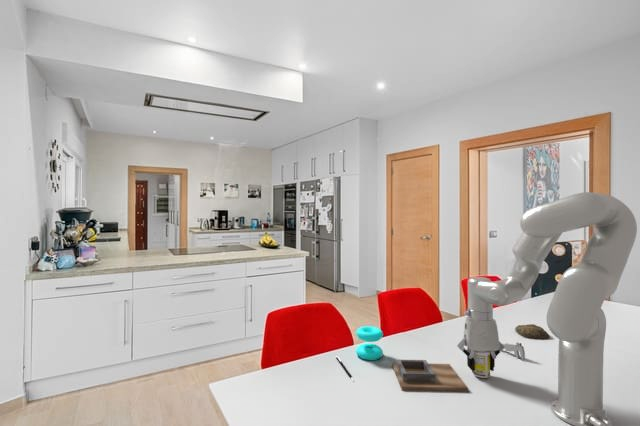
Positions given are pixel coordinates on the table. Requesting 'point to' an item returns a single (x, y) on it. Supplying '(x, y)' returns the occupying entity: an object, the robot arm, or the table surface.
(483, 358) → the supplement bottle
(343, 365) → the pen
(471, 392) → the table surface
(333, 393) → the table surface
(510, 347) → the caliper
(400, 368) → the board
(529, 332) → the bread roll
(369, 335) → the donuts
